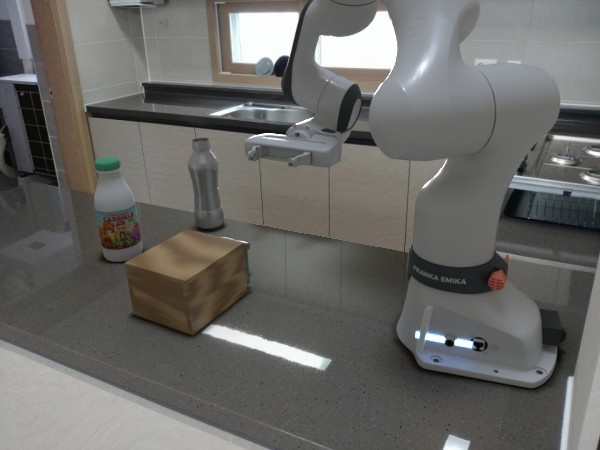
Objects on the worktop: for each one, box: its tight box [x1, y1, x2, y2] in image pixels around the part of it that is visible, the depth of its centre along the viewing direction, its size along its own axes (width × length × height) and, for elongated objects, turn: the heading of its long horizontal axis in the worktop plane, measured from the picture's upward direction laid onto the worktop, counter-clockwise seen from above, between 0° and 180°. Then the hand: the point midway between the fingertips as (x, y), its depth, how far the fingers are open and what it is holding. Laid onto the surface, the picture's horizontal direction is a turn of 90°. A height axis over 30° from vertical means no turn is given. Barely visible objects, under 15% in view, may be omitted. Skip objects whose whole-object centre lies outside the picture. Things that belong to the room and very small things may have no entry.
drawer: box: [195, 230, 251, 285], centre depth 93 cm, size 18×11×8 cm, turn 150°
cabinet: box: [124, 228, 248, 336], centre depth 89 cm, size 15×13×10 cm
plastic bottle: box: [187, 137, 225, 230], centre depth 117 cm, size 6×7×20 cm
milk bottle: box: [93, 156, 144, 263], centre depth 105 cm, size 8×8×20 cm
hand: (270, 159), depth 104 cm, fingers open, 8 cm apart
